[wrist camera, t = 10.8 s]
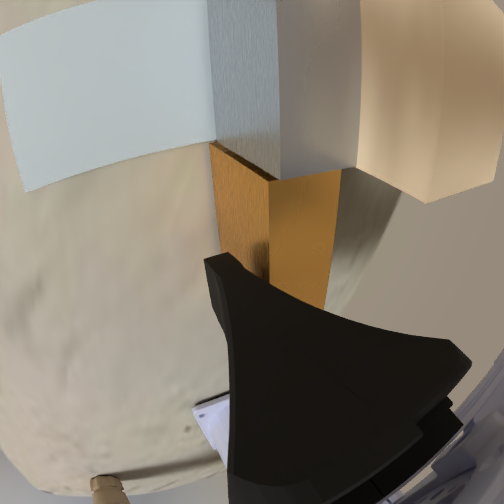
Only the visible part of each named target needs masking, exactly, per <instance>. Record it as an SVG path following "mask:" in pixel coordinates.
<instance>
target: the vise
mask: <svg viewBox="0 0 504 504" xmlns="http://www.w3.org/2000/svg"><path fill="white" fill-rule="evenodd" d="M0 77H1V86H2V94H3V101H4V107H5V113H6V119H7V124H8V129H9V134H10V138H11V143H12V147H13V151H14V155H15V159H16V163H17V167H18V170H19V174H20V177H21V180H22V184H23V187H24V190H25V193H27V192H29V191H32V190H35V189H37V188H40V187H42V186H45V185H48V184H50V183H53V182H56V181H59V180H62V179H65V178H67V177H70V176H73V175H76V174H79V173H83V172H86V171H89V170H92V169H95V168H99V167H102V166H105V165H109V164H112V163H116V162H119V161H123V160H127V159H130V158H134V157H138V156H142V155H146V154H150V153H154V152H158V151H163V150H167V149H172V148H176V147H181V146H186V145H191V144H196V143H201V142H206V141H212V140H216V129H215V116H214V104H213V91H212V77H211V62H210V47H209V30H208V12H207V0H98V1H94V2H90V3H86V4H82V5H78V6H75V7H71V8H68V9H65V10H62V11H58V12H55V13H52V14H50V15H47V16H44V17H41V18H39V19H36V20H33V21H31V22H28V23H26V24H24V25H21V26H19V27H17V28H14V29H12V30H10V31H8V32H6V33H3V34H1V35H0Z"/></svg>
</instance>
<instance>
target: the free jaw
mask: <svg viewBox="0 0 504 504" xmlns="http://www.w3.org/2000/svg"><path fill="white" fill-rule="evenodd" d="M207 12H208V30H209V47H210V62H211V77H212V91H213V104H214V116H215V129H216V140H217V142H213V143H209V148H210V158H211V168H212V178H213V187H214V196H215V205H216V214H217V223H218V231H219V239H220V248H221V254H222V253H225V252H229V253H230V254H231V255H233V256H234V257H235V258H236V259H237V260H239V261H240V262H241V264H242V265H243V266H244V268H245V269H247V270H248V271H250V272H252V273H253V274H255V275H256V276H258V277H259V278H261V279H263V280H265V281H266V282H268V283H270V284H271V285H273V286H275V287H276V288H278V289H280V290H282V291H284V292H286V293H287V294H289V295H291V296H293V297H295V298H297V299H299V300H301V301H303V302H305V303H308V304H310V305H312V306H314V307H317V308H319V309H322V310H324V304H325V298H326V292H327V286H328V280H329V273H330V267H331V260H332V252H333V245H334V237H335V229H336V221H337V212H338V202H339V192H340V181H341V169H346V168H352V167H356V165H357V154H358V141H359V127H360V109H361V80H362V37H361V10H360V0H207Z"/></svg>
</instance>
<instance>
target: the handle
mask: <svg viewBox="0 0 504 504" xmlns="http://www.w3.org/2000/svg"><path fill="white" fill-rule="evenodd" d="M90 487H91V491H94V493H93V502H94V504H130V503H129V500H128V498H127V496H126V494H125V493H124V492H122V490H124V488H123V486H122V483H121V482H120V480H119V479H118V478H114V477H113V476H96V478H94V479H91V480H90Z"/></svg>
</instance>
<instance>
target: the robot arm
mask: <svg viewBox="0 0 504 504" xmlns="http://www.w3.org/2000/svg"><path fill="white" fill-rule="evenodd" d="M204 264H205V270H206V276H207V281H208V287H209V292H210V298H211V303H212V307H213V310H214V312H215V314H216V316H217V319H218V321H219V323H220V325H221V327H222V329H223V331H224V333H225V337H226V341H227V345H228V359H229V386H230V394H227V395H224V396H222V397H219V398H216V399H214V400H211V401H208V402H205V403H203V404H200V405H197V406H195V407H194V408H193V409H192V412H193V414H194V416H195V418H196V420H197V422H198V424H199V425H200V427H201V429H202V431H203V432H204V434H205V436H206V438H207V439H208V441H209V443H210V445H211V446H212V448H213V449H214V450H218V452H219V454H220V456H221V459H222V461H223V463H224V465H225V467H226V469H227V478H228V498H229V504H504V349H503V350H502V352H501V353H500V355H499V356H498V357H497V359H496V360H495V362H494V365H493V366H492V367H491V369H490V370H489V371H488V373H487V374H486V375H485V377H484V378H483V379H482V380H481V382H480V383H479V384H478V385H477V387H476V388H475V389H474V390H473V391H472V393H471V394H470V395H469V396H468V397H467V398H466V399H465V401H464V402H463V403H462V404H461V405H460V406H459V407H458V409H456V410H455V411H454V413H453V412H452V411H451V410H450V409H449V408H450V407H451V406H452V405H453V402H452V401H451V400H450V399H449V398H448V397H447V395H448V394H449V393H450V392H451V391H452V389H453V388H454V387H455V386H456V385H457V384H458V383H459V381H460V380H461V379H462V378H463V377H464V375H465V374H466V373H467V372H468V370H469V369H470V368H471V366H472V361H471V360H470V359H469V358H468V357H467V356H466V355H465V354H464V353H463V352H462V351H461V350H460V349H459V348H458V347H457V346H456V345H455V344H453V343H452V342H451V341H450V340H447V339H439V338H430V337H422V336H413V335H408V334H403V333H398V332H393V331H388V330H384V329H380V328H376V327H372V326H368V325H365V324H362V323H358V322H355V321H352V320H348V319H346V318H343V317H340V316H337V315H334V314H332V313H329V312H327V311H324V310H322V309H319V308H317V307H314V306H312V305H310V304H308V303H305V302H303V301H301V300H299V299H297V298H295V297H293V296H291V295H289V294H287V293H286V292H284V291H282V290H280V289H278V288H276V287H275V286H273V285H271V284H270V283H268V282H266V281H265V280H263V279H261V278H259V277H258V276H256V275H255V274H253V273H252V272H250V271H248V270H247V269H245V268H244V266H243V265H242V264H241V262H240V261H239V260H237V259H236V258H235V257H234V256H233V255H231V254H230V253H229V252H225V253H222V254H219V255H216V256H212V257H209V258H206V259H204ZM462 430H463V431H464V433H463V435H462V436H460V437H459V438H458V439H457V440H455V441H454V442H453V443H452V444H450V443H451V442H452V441H453V440H454V439H455V438H456V437H457V435H458V434H459V433H460V432H461V431H462ZM449 444H450V445H449ZM448 445H449V446H448ZM447 446H448V447H447ZM446 447H447V448H446ZM445 448H446V449H445ZM444 449H445V450H444ZM443 450H444V451H443ZM442 451H443V452H442ZM441 452H442V453H441ZM440 453H441V454H440ZM439 454H440V455H439ZM438 455H439V456H438ZM437 456H438V457H437ZM436 457H437V459H436V460H435V461H434V462H433V464H432V465H431V468H432V469H433V470H434V471H433V472H431V473H430V474H429V475H428V476H427V477H425V478H424V479H423V480H422V481H421V482H419V483H418V484H417V485H416V486H414V487H413V488H412V489H411V490H409V491H408V492H406V493H405V494H403V493H402V492H401V491H400V489H401V488H402V487H403V486H405V485H406V484H407V483H408V482H409V481H411V480H412V479H413V478H414V477H415V476H416V475H418V474H419V473H420V472H421V471H422V470H423V469H424V468H425V467H427V466H428V465H429V464H430V463H431V462H432V461H433V460H434V459H435V458H436Z"/></svg>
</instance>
